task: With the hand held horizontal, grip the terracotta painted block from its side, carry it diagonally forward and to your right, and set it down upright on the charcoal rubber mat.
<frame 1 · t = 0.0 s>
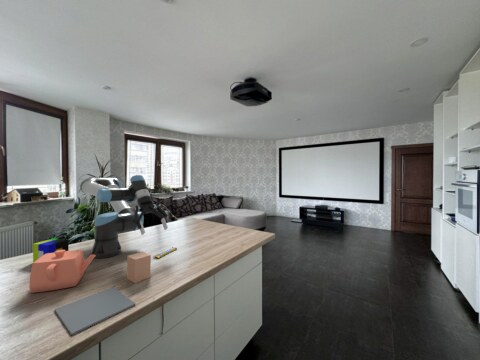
hand: (155, 231, 115), 15 cm above the worktop, tool tilted 35°, fingers open, 13 cm apart
candy bar: (165, 254, 124), on the worktop
puzzle toy: (51, 260, 111), on the worktop
block: (138, 277, 93), on the worktop
teapot: (66, 283, 88), on the worktop
mat: (96, 307, 71), on the worktop
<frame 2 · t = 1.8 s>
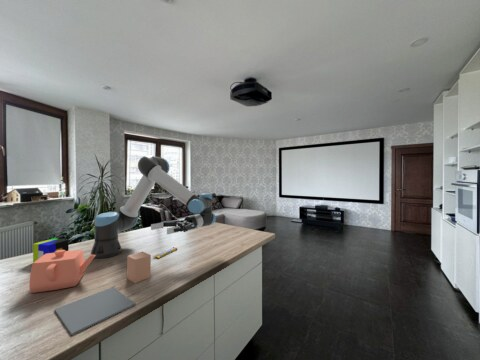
hand: (158, 229, 101), 20 cm above the worktop, tool horizontal, fingers open, 13 cm apart
nothing on the worktop moved.
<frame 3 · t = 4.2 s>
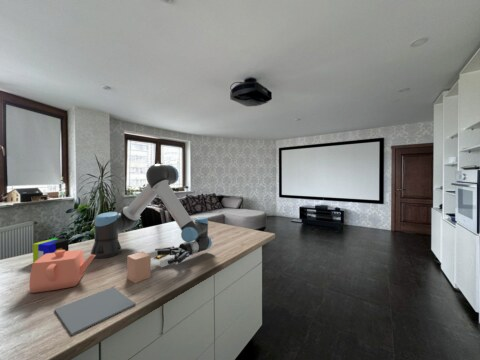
hand: (152, 260, 98), 6 cm above the worktop, tool horizontal, fingers open, 13 cm apart
nothing on the worktop moved.
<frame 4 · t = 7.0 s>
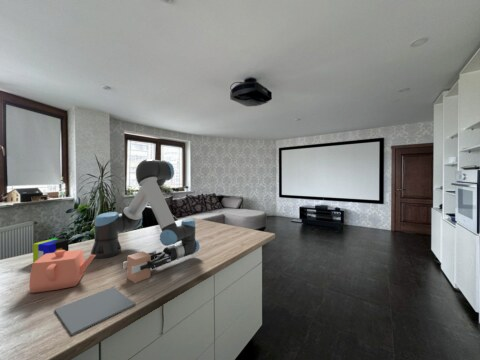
hand: (127, 267, 89), 6 cm above the worktop, tool horizontal, fingers closed on block, 7 cm apart
block: (138, 277, 93), on the worktop, touching gripper
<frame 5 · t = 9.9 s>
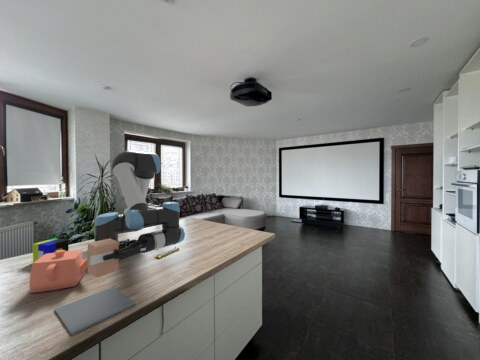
hand: (86, 257, 69), 18 cm above the worktop, tool horizontal, fingers closed on block, 7 cm apart
block: (103, 270, 73), point 12 cm above the worktop, touching gripper
when the fingers open (8 cm above the worktop, at t = 12.8 s): block drops 1 cm, resting on mat.
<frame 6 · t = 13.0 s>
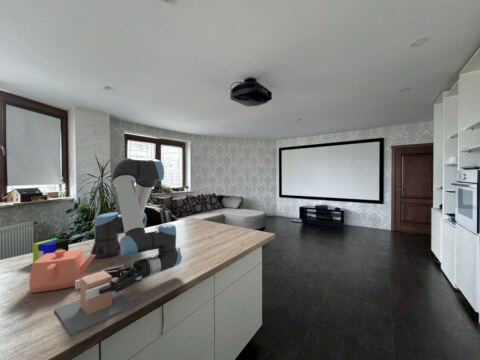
hand: (80, 290, 68), 8 cm above the worktop, tool horizontal, fingers open, 9 cm apart
block: (96, 306, 71), point 1 cm above the worktop, touching mat
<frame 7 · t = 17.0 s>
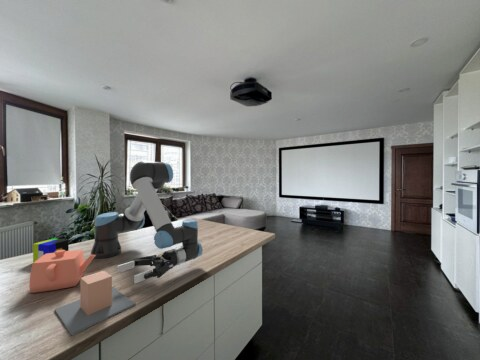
hand: (125, 274, 79), 8 cm above the worktop, tool horizontal, fingers open, 13 cm apart
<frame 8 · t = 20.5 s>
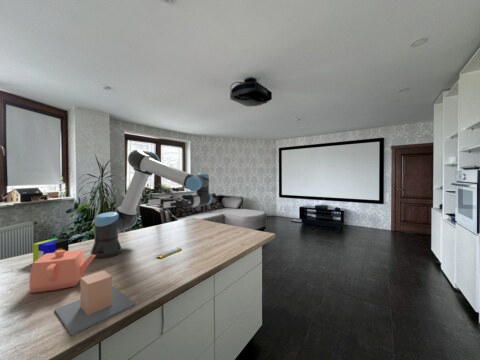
hand: (155, 203, 103), 32 cm above the worktop, tool horizontal, fingers open, 13 cm apart
at the end: block inside the target area on the mat (0.0 cm from its centre), point 0.6 cm above the mat's base; block tilted 0°; the gripper is holding nothing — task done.
